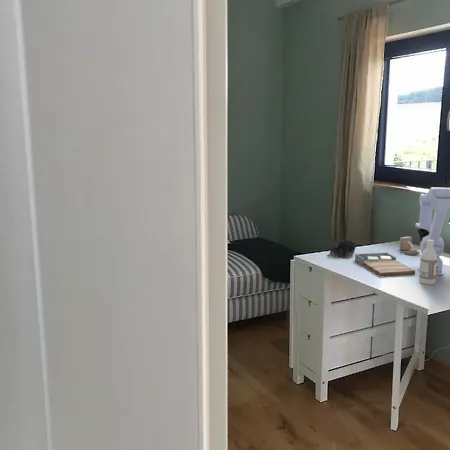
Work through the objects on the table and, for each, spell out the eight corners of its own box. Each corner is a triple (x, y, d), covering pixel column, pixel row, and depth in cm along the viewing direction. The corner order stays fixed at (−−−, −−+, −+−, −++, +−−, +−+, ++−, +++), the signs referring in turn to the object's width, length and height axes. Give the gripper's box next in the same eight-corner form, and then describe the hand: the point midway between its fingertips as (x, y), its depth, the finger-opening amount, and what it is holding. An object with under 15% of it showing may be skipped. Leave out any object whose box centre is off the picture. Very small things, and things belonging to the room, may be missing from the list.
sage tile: (378, 264, 262) (378, 259, 262) (368, 263, 263) (368, 258, 263) (377, 261, 267) (377, 256, 267) (367, 260, 268) (367, 256, 267)
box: (395, 263, 264) (396, 257, 263) (363, 265, 261) (363, 259, 260) (386, 258, 274) (387, 252, 273) (354, 260, 270) (355, 254, 270)
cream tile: (391, 263, 264) (391, 258, 263) (381, 263, 264) (381, 258, 264) (389, 260, 268) (390, 256, 268) (379, 260, 269) (380, 255, 269)
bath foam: (432, 286, 230) (436, 242, 226) (417, 283, 234) (420, 240, 230) (436, 282, 236) (440, 239, 231) (421, 279, 240) (424, 237, 235)
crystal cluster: (324, 255, 283) (325, 238, 280) (341, 249, 291) (341, 232, 288) (343, 262, 273) (344, 245, 270) (359, 256, 281) (361, 239, 278)
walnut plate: (414, 274, 247) (415, 270, 246) (380, 276, 243) (380, 272, 243) (396, 263, 264) (396, 260, 264) (363, 265, 261) (363, 262, 260)
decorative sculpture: (420, 256, 279) (421, 243, 278) (402, 256, 279) (403, 243, 278) (410, 248, 295) (411, 236, 293) (393, 248, 295) (394, 236, 293)
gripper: (441, 220, 254) (438, 246, 257) (424, 214, 268) (422, 239, 271) (428, 220, 253) (426, 247, 256) (412, 215, 267) (410, 240, 270)
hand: (423, 243), depth 263 cm, fingers closed
